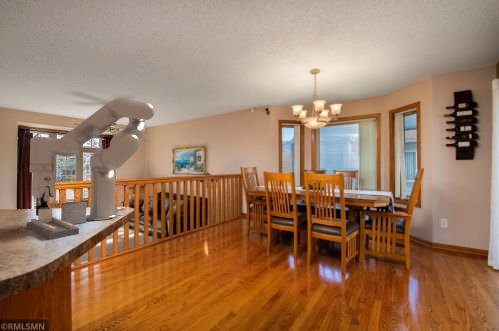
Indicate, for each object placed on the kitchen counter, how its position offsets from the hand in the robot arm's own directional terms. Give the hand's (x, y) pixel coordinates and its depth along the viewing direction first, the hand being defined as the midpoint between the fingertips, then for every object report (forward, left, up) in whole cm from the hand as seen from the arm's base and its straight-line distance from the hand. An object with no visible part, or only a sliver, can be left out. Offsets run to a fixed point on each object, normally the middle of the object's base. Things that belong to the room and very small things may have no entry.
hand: (41, 215), depth 89 cm
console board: (0, +10, -4) cm, 11 cm away
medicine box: (-9, +4, -4) cm, 11 cm away
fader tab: (0, +4, -2) cm, 4 cm away
